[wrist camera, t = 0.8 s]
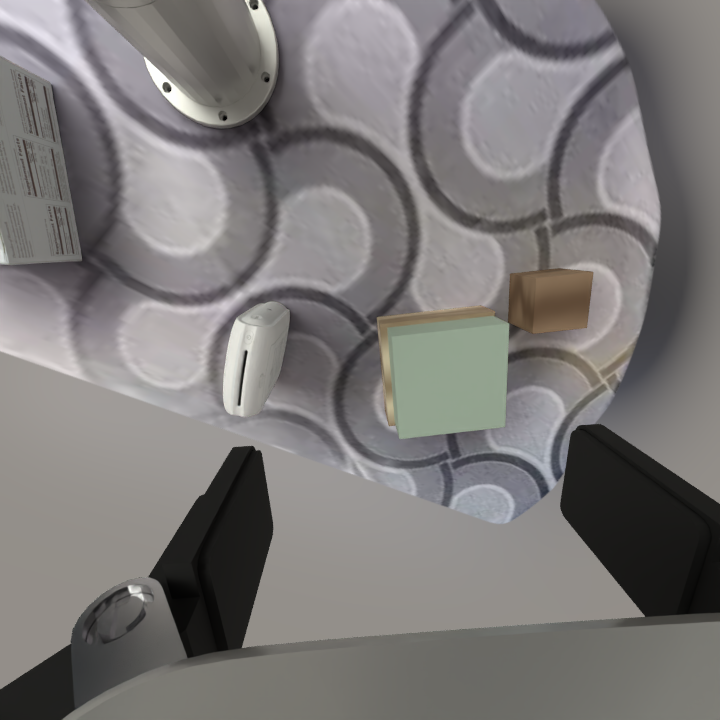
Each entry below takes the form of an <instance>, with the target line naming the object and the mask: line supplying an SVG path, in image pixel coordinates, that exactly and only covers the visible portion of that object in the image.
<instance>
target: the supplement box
mask: <svg viewBox="0 0 720 720" xmlns="http://www.w3.org/2000/svg"><path fill="white" fill-rule="evenodd" d="M68 261H82V255H81V248H80V243H79V237H78V232H77V226H76V221H75V215H74V210H73V204H72V199H71V193H70V188H69V182H68V177H67V171H66V165H65V160H64V154H63V149H62V143H61V138H60V132H59V127H58V121H57V116H56V110H55V105H54V99H53V93H52V87H51V83H50V82H48V81H46V80H45V79H43V78H41V77H39V76H37V75H35V74H33V73H31V72H30V71H28V70H26V69H24V68H22V67H20V66H18V65H17V64H15V63H13V62H11V61H9V60H7V59H5V58H4V57H2V56H0V264H2V265H21V264H35V263H49V262H68Z"/></svg>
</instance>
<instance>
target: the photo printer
mask: <svg viewBox="0 0 720 720" xmlns="http://www.w3.org/2000/svg"><path fill="white" fill-rule="evenodd" d="M289 322H290V310H289V309H286V307H285V306H284V305H282V304H281V303H278V302H267V303H265V304H263V303H260V304H258V305H256V306H255V307H253V308H251V309H250V310H248V311H246V312H245V313H243V314H242V315H240V316H239V317H237V319H236V321H235V323H234V325H233V328H232V331H231V335H230V339H229V344H228V349H227V355H226V362H225V370H224V381H223V401H224V406H225V409H226V411H227V412H228V413H230V414H231V415H239V416H242V417H251V416H254V415H257V414H258V413H260V411H261V410H262V408H263V406H264V404H265V402H266V400H267V398H268V397H269V395H270V393H271V391H272V389H273V387H274V385H275V383H276V381H277V379H278V377H279V375H280V371H281V367H282V363H283V358H284V353H285V347H286V342H287V336H288V329H289Z"/></svg>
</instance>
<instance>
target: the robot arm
mask: <svg viewBox="0 0 720 720" xmlns="http://www.w3.org/2000/svg"><path fill="white" fill-rule="evenodd" d="M85 1H86V2H87V3H88V4H89V5H90V6H91V7H92V8H93V9H94V10H95V11H96V12H97V13H98V14H99V15H100V16H102V17H103V18H104V19H105V20H106V21H107V22H108V23H109V24H110V25H111V26H112V27H113V28H114V29H115V30H116V31H117V32H118V33H120V34H121V35H122V36H123V37H124V38H125V39H126V40H127V41H128V42H129V43H130V44H131V45H132V46H133V47H134V48H135V49H136V50H138V51H139V52H140V53H141V54H142V55H143V57H144V60H145V63H146V66H147V69H148V71H149V73H150V75H151V77H152V79H153V81H154V83H155V85H156V86H157V88H158V89H159V91H160V92H161V93H162V95H163V96H164V97H165V98H166V100H167V101H168V102H169V103H170V104H171V105H172V106H173V107H174V108H175V109H177V110H178V111H179V112H180V113H182V114H183V115H184V116H186V117H188V118H189V119H191V120H192V121H194V122H196V123H199V124H201V125H204V126H207V127H212V128H218V129H221V128H232V127H236V126H240V125H243V124H244V123H246V122H248V121H250V120H252V119H253V118H254V117H255V116H256V115H257V114H259V113H260V112H261V111H262V109H263V108H264V107H265V105H266V104H267V103H268V101H269V99H270V97H271V95H272V93H273V91H274V88H275V84H276V80H277V77H278V68H279V51H278V43H277V38H276V34H275V30H274V27H273V24H272V21H271V18H270V15H269V13H268V11H267V9H266V7H265V5H264V3H263V1H262V0H85ZM255 8H258V9H257V10H254V9H255ZM266 79H269V80H270V81H269V82H267V83H265V80H266ZM170 89H172V90H171V92H170V93H169V90H170ZM225 116H226V117H227V120H226V121H224V117H225ZM560 507H561V511H562V514H563V516H564V517H565V519H566V520H567V521H568V522H569V524H570V525H571V526H572V527H573V528H574V530H575V531H576V532H577V533H578V535H579V536H580V537H581V538H582V540H583V541H584V542H585V543H586V544H587V546H588V547H589V548H590V549H591V551H593V553H594V554H595V555H596V556H597V558H598V559H599V560H600V562H601V563H602V564H603V565H604V566H605V568H606V569H607V570H608V571H609V573H610V574H611V575H612V576H613V577H614V579H615V580H616V581H617V582H618V584H620V586H621V587H622V588H623V590H624V591H625V592H626V593H627V595H628V596H629V597H630V598H631V599H632V601H633V602H634V603H635V604H636V605H637V607H638V608H639V609H640V610H641V612H642V613H643V614H644V615H645V617H638V618H622V619H606V620H590V621H576V622H562V623H546V624H532V625H517V626H503V627H489V628H475V629H462V630H461V629H460V630H446V631H433V632H420V633H407V634H395V635H382V636H381V635H380V636H368V637H354V638H341V639H328V640H317V641H307V642H296V643H286V644H275V645H265V646H255V647H247V648H242V645H243V641H244V637H245V634H246V630H247V626H248V623H249V619H250V616H251V612H252V608H253V605H254V601H255V597H256V594H257V590H258V586H259V583H260V579H261V576H262V572H263V568H264V565H265V561H266V557H267V554H268V550H269V547H270V543H271V539H272V535H273V520H272V515H271V508H270V501H269V496H268V489H267V483H266V477H265V471H264V465H263V458H262V453H261V451H260V450H258V451H256V450H255V448H254V447H253V446H244V447H233V448H232V450H231V452H230V453H229V455H228V456H227V458H226V460H225V462H224V463H223V465H222V466H221V468H220V469H219V471H218V473H217V475H216V476H215V478H214V479H213V481H212V483H211V485H210V486H209V488H208V489H207V491H206V493H205V494H204V495H201V496H199V498H198V499H197V500H196V501H195V503H194V505H193V506H192V508H191V509H190V511H189V513H188V514H187V516H186V517H185V519H184V521H183V522H182V524H181V526H180V527H179V529H178V530H177V532H176V533H175V535H174V537H173V538H172V540H171V541H170V543H169V545H168V546H167V548H166V549H165V551H164V553H163V554H162V556H161V558H160V559H159V561H158V562H157V564H156V565H155V567H154V569H153V570H152V572H151V573H150V575H149V577H146V578H145V577H139V578H135V579H131V580H127V581H125V582H123V583H121V584H118V585H116V586H114V587H112V588H111V589H109V590H108V591H106V592H105V593H103V594H102V595H100V596H99V597H98V598H97V599H96V600H95V601H94V602H92V603H91V604H90V605H89V606H88V607H87V609H86V610H85V611H84V612H83V613H82V614H81V616H80V617H79V619H78V620H77V622H76V624H75V626H74V628H73V631H72V636H71V644H70V645H68V646H66V647H65V648H63V649H62V650H60V651H59V652H57V653H56V654H54V655H53V656H51V657H50V658H48V659H47V660H45V661H43V662H42V663H40V664H39V665H37V666H36V667H34V668H33V669H31V670H30V671H28V672H27V673H25V674H23V675H22V676H20V677H19V678H17V679H16V680H14V681H13V682H11V683H10V684H8V685H7V686H5V687H3V688H2V689H0V720H720V504H719V503H717V502H716V501H715V500H713V499H711V498H710V497H709V496H707V495H706V494H704V493H703V492H701V491H700V490H698V489H697V488H695V487H694V486H692V485H691V484H689V483H688V482H686V481H685V480H683V479H682V478H680V477H679V476H677V475H676V474H675V473H673V472H672V471H670V470H669V469H667V468H666V467H664V466H663V465H661V464H660V463H658V462H657V461H655V460H654V459H652V458H651V457H649V456H648V455H646V454H645V453H643V452H642V451H640V450H639V449H637V448H636V447H634V446H633V445H631V444H630V443H628V442H627V441H626V440H624V439H622V438H621V437H620V436H618V435H617V434H615V433H614V432H612V431H611V430H609V429H608V428H606V427H605V426H603V425H601V424H593V425H580V426H578V427H577V428H576V430H575V431H573V432H572V433H571V436H570V443H569V449H568V456H567V463H566V469H565V476H564V483H563V489H562V496H561V503H560Z"/></svg>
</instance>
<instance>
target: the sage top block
mask: <svg viewBox="0 0 720 720" xmlns="http://www.w3.org/2000/svg"><path fill="white" fill-rule="evenodd" d="M387 333H388V345H389V358H390V370H391V382H392V395H393V407H394V420H395V425H396V428H397V432H398V435H399V439H406V438H414V437H423V436H432V435H440V434H449V433H458V432H467V431H475V430H484V429H493V428H502V427H505V417H506V392H507V367H508V342H509V323H507V322H505V321H503V320H501V319H499V318H497V317H494V316H486V317H477V318H468V319H459V320H451V321H442V322H433V323H424V324H415V325H406V326H397V327H388V328H387Z"/></svg>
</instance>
